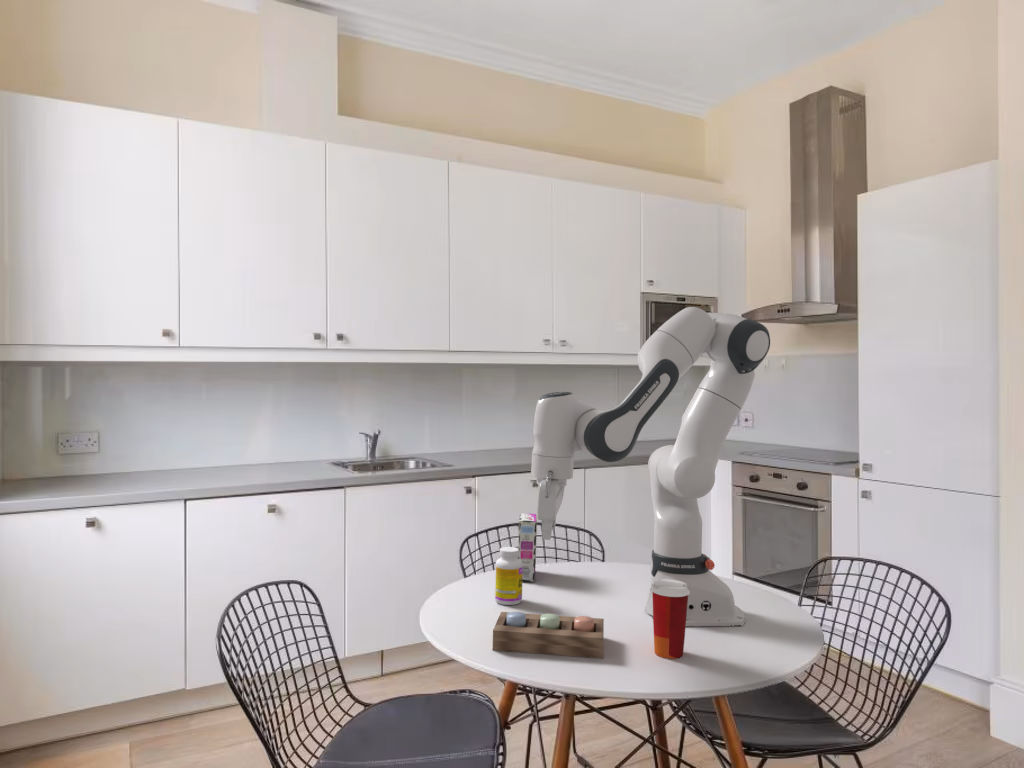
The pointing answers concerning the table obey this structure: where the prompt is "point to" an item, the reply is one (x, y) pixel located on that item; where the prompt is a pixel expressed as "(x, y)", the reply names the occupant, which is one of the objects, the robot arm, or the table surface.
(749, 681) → the table surface
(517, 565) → the supplement bottle
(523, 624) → the button slate
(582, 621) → the button terracotta
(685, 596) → the paper cup
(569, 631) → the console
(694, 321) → the robot arm
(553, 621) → the button sage
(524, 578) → the candy bar box
